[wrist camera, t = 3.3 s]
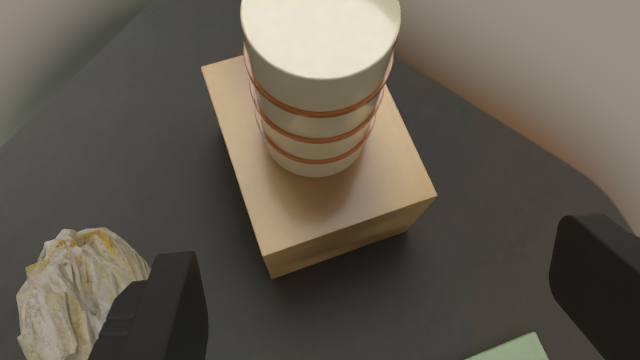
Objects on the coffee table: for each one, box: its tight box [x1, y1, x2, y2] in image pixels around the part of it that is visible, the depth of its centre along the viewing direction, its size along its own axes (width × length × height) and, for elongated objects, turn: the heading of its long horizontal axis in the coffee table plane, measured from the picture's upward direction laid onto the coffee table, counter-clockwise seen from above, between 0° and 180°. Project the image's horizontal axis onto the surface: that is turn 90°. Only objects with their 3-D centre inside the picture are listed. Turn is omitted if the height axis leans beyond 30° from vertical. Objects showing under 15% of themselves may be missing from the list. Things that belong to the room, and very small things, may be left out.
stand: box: [201, 55, 437, 279], centre depth 31 cm, size 10×12×8 cm
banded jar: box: [240, 0, 401, 178], centre depth 22 cm, size 6×6×10 cm
